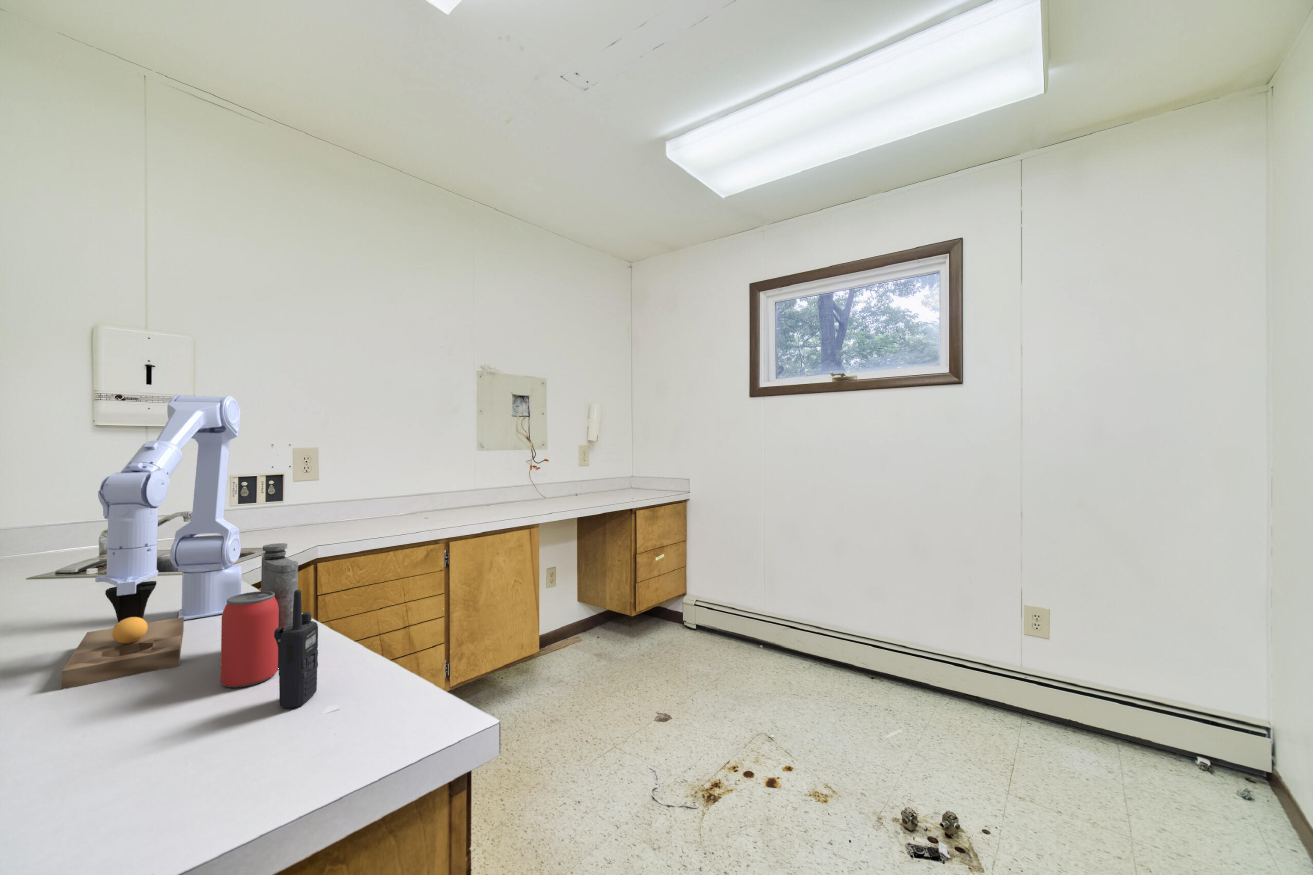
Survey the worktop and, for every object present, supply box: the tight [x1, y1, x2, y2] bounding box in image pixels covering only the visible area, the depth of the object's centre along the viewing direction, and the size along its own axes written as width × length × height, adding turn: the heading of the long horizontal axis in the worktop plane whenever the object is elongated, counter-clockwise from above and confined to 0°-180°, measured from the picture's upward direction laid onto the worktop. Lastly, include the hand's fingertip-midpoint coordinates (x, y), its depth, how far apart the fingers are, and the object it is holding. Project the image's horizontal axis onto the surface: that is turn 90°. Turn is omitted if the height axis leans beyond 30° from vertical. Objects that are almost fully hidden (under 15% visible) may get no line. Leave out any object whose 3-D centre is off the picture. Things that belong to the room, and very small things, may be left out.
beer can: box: [220, 590, 279, 689], centre depth 75 cm, size 7×7×12 cm
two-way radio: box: [274, 589, 319, 709], centre depth 69 cm, size 6×4×15 cm
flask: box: [260, 542, 299, 668], centre depth 84 cm, size 4×14×18 cm, turn 45°
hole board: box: [60, 617, 185, 690], centre depth 83 cm, size 12×20×2 cm, turn 41°
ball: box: [112, 617, 148, 644], centre depth 82 cm, size 4×4×4 cm
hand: (130, 630), depth 84 cm, fingers closed, pressing on ball
